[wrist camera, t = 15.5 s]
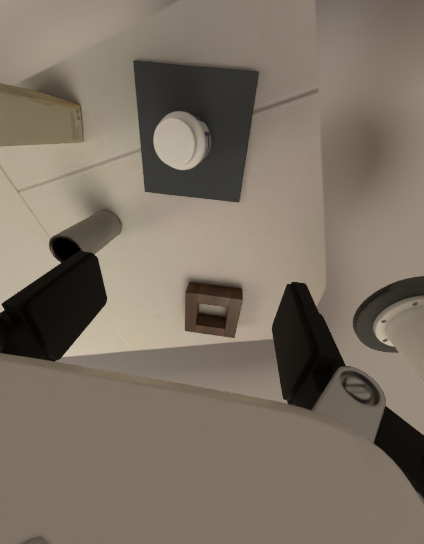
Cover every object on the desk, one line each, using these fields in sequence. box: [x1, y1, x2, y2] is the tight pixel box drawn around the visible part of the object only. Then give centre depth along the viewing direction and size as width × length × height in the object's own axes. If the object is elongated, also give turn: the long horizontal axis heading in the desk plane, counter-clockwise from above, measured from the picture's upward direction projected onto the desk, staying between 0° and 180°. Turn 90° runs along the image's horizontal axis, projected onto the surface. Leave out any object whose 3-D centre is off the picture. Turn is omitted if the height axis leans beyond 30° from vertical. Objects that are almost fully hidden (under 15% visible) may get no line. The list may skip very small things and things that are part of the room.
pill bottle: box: [153, 111, 211, 170], centre depth 23 cm, size 5×5×9 cm
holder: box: [185, 282, 243, 338], centre depth 41 cm, size 10×10×3 cm
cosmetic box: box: [0, 83, 83, 146], centre depth 22 cm, size 6×4×12 cm
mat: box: [134, 61, 259, 202], centre depth 27 cm, size 14×14×1 cm
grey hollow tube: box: [49, 211, 122, 263], centre depth 31 cm, size 4×4×10 cm
